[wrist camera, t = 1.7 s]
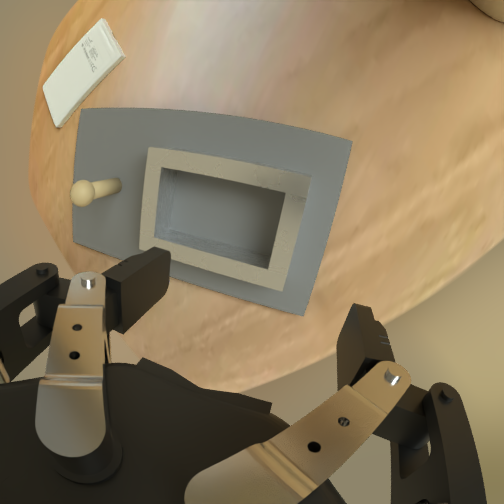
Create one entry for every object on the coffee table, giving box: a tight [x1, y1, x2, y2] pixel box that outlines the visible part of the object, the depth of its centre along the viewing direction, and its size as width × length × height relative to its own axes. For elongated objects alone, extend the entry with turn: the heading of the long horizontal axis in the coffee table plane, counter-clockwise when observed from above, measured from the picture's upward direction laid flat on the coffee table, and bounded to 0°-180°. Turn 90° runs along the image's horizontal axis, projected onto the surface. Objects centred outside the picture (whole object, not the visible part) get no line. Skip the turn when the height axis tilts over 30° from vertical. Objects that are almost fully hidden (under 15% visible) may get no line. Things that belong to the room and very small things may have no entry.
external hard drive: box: [43, 18, 125, 128], centre depth 24 cm, size 2×8×12 cm
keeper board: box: [70, 108, 353, 316], centre depth 23 cm, size 28×16×7 cm, turn 79°
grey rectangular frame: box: [139, 147, 312, 291], centre depth 23 cm, size 13×9×3 cm
